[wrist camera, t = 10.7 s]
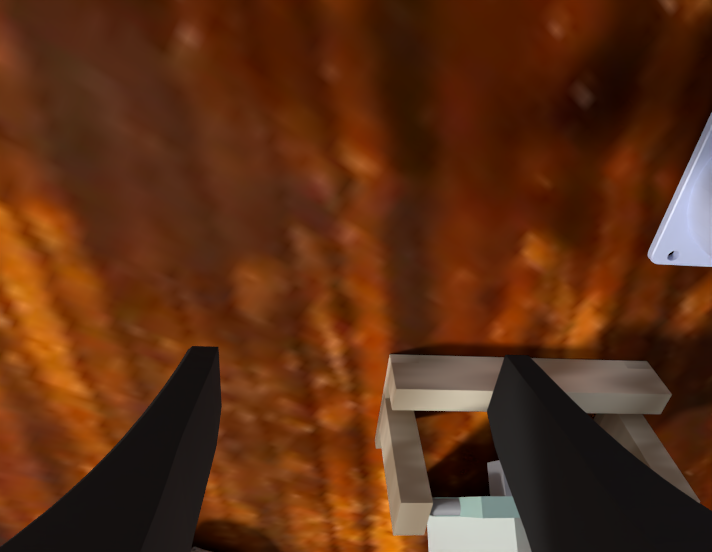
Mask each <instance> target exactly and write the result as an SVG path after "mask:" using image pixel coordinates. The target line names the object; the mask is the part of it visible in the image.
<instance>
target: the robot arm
mask: <svg viewBox="0 0 712 552" xmlns="http://www.w3.org/2000/svg"><path fill="white" fill-rule="evenodd" d="M672 251H674V252H673V253H672V254H671V255H670V256H668V255H669V253H671V252H672ZM648 258H649V259H650V260H651V261H652V262H653V263H655V264H664V265H685V266H706V267H712V112H711V115H710V117H709V119H708V121H707V123H706V126H705V128H704V130H703V132H702V134H701V137H700V139H699V141H698V143H697V145H696V148H695V150H694V152H693V154H692V156H691V159H690V161H689V163H688V165H687V167H686V170H685V172H684V174H683V176H682V178H681V181H680V183H679V185H678V187H677V189H676V192H675V194H674V196H673V198H672V200H671V202H670V205H669V207H668V209H667V211H666V213H665V216H664V218H663V220H662V222H661V224H660V227H659V229H658V231H657V233H656V235H655V238H654V240H653V242H652V244H651V246H650V249H649V251H648ZM221 407H222V406H221V387H220V368H219V350H218V347H204V346H192V347H191V348H190V349H188V351H187V352H186V354H185V356H184V357H183V359H182V361H181V362H180V364H179V365H178V367H177V368H176V370H175V371H174V373H173V374H172V376H171V377H170V379H169V380H168V381H167V383H166V384H165V386H164V387H163V388H162V390H161V391H160V392H159V394H158V395H157V396H156V398H155V399H154V400H153V402H152V403H151V404H150V406H149V407H148V408H147V409H146V411H145V412H144V413H143V414H142V416H141V417H140V418H139V419H138V420H137V422H136V423H135V424H134V425H133V426H132V427H131V429H130V430H129V431H128V432H127V433H126V434H125V436H124V437H123V438H122V439H121V440H120V441H119V442H118V443H117V445H116V446H115V447H114V448H113V449H112V450H111V451H110V452H109V453H108V454H107V455H106V456H105V457H104V458H103V459H102V460H101V461H100V462H99V463H98V464H97V465H96V466H95V467H94V468H93V469H92V470H91V471H90V472H89V473H88V474H87V475H86V476H85V477H84V478H83V479H82V480H81V481H80V482H78V483H77V484H76V485H75V486H74V487H73V488H72V489H71V490H70V491H69V492H68V493H66V494H65V495H64V496H63V497H62V498H61V499H60V500H59V501H57V502H56V503H55V504H54V505H53V506H52V507H50V508H49V509H48V510H47V511H46V512H44V513H43V514H42V515H40V516H39V517H38V518H37V519H35V520H34V521H33V522H32V523H30V524H29V525H28V526H27V527H25V528H24V529H23V530H21V531H20V532H19V533H18V534H16V535H15V536H14V537H13V538H11V539H10V540H9V541H7V542H6V543H5V544H3V545H2V546H1V547H0V552H191V548H192V543H193V538H194V534H195V529H196V525H197V521H198V517H199V513H200V509H201V505H202V501H203V498H204V494H205V490H206V486H207V482H208V478H209V474H210V470H211V466H212V461H213V457H214V453H215V449H216V445H217V437H218V430H219V423H220V415H221ZM487 414H488V419H489V423H490V428H491V433H492V437H493V441H494V446H495V449H496V452H497V455H498V458H499V461H500V463H501V466H502V469H503V472H504V475H505V477H506V480H507V483H508V486H509V488H510V491H511V494H512V497H513V499H514V502H515V505H516V507H517V510H518V513H519V516H520V518H521V521H522V524H523V527H524V529H525V532H526V536H527V539H528V542H529V545H530V548H531V552H712V511H711V510H709V509H708V508H706V507H705V506H703V505H702V504H700V503H699V502H697V501H696V500H694V499H693V498H691V497H690V496H688V495H687V494H685V493H684V492H682V491H681V490H679V489H678V488H676V487H675V486H674V485H672V484H671V483H669V482H668V481H667V480H665V479H664V478H663V477H661V476H660V475H659V474H657V473H656V472H655V471H653V470H652V469H651V468H649V467H648V466H647V465H646V464H644V463H643V462H642V461H640V460H639V459H638V458H637V457H635V456H634V455H633V454H632V453H630V452H629V451H628V450H627V449H626V448H624V447H623V446H622V445H621V444H620V443H619V442H618V441H616V440H615V439H614V438H613V437H612V436H611V435H610V434H608V433H607V432H606V431H605V430H604V429H603V428H602V427H601V426H599V425H598V424H597V423H596V422H595V421H594V420H593V419H592V418H591V417H590V416H589V415H588V414H587V413H586V412H585V411H584V410H582V409H581V408H580V407H579V406H578V405H577V404H576V403H575V402H574V401H573V400H572V399H571V398H570V397H569V396H568V395H567V394H566V393H565V392H564V391H563V390H562V389H561V388H560V387H559V386H558V385H557V384H556V383H555V382H554V381H553V380H552V379H551V378H550V377H549V376H548V375H547V374H546V373H545V372H544V370H543V369H542V368H541V367H540V366H539V365H538V364H537V363H536V362H534V361H533V360H532V359H531V358H530V357H529V356H528V355H505V357H504V360H503V363H502V366H501V369H500V372H499V375H498V378H497V381H496V385H495V388H494V391H493V394H492V397H491V400H490V403H489V406H488V409H487Z"/></svg>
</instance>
